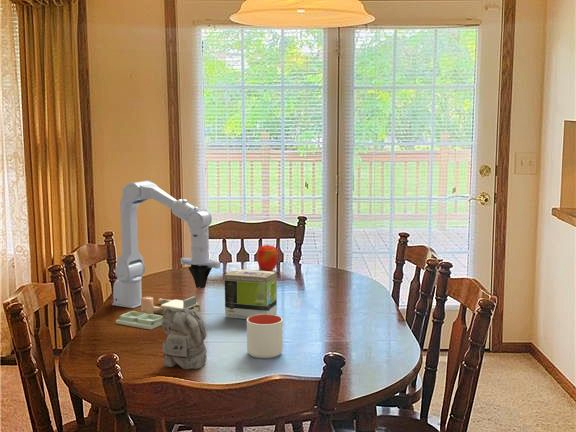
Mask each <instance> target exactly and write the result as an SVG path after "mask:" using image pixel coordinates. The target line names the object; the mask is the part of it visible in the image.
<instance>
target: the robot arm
mask: <svg viewBox="0 0 576 432" xmlns="http://www.w3.org/2000/svg"><path fill="white" fill-rule="evenodd" d="M147 200H154V201H156V202H158V203H160V204H161V205H163V206H166V207H167V208H169V209H170V210H171V213H172V214H173V215H174V216H176V218H177V217H178V218H179V219H181V220H182V221H184V222H185V223H187V226H188V227H189V229H190V230H189V231H190V243H191V246H190V247H191V249H190V250H191V252H190V253H191V257H181V258H180V265H182V266H183V265H188V266H189V267H188V271H189V273H190V274H191V276H192V278H193V281H194V284H195V288H197V289H199V288H200V289H204V288H206V284H207V281H208V277H209V275H210V273H211V271H212V268H214V269H216V270H217V269H220V268H221V261H216V260H213V259H210V254H209V253H210V252H209V251H210V244H209V243H210V241H209V235H210V234H209V226H210V225H211V224H212V218H213V217H212V215H211V213H210V212H209V211H207V209H200V208H199V207H198V206H194V205H193V204H190V203H189V202H188V200H187V199H186V198H184V199H183V198H179V199H178V200H177V199H176V198H175V197H173V196H172V195H170V194H169V193H167V192H166V191H165V190H163V189H161V188H160V187H159V186H158V185H157V184H156V183H154V182H152V181H151V180H147V179H146V180H141V181H137V182H129V183H127V184H126V185H124V186H123V188H122V196H121V198H120V203H119V208H120V213H119V214H120V231H121V233H120V234H121V235H120V236H121V254H120V255H119V256H118V258H117V259H116V266H115V270H114V273H115V277H116V278H117V279H115V281H114V283H113V287H112V290H113V291H112V293H113V294H112V296H113V303H112V306H117V307H124V308H129V309H135V308H137V307H141V298H142V297H143V296H142V295H143V294H142V279H143V275H144V274H145V272H146V264H145V263H144V256H143V255H142V254H141V253H140V251H139V242H138V241H139V240H138V239H139V238H138V233H139V232H138V212H137V211H138V210H137V209H138V207H139V206H140V205H142V203H143V202H145V201H147Z"/></svg>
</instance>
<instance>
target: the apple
mask: <svg viewBox="0 0 576 432" xmlns="http://www.w3.org/2000/svg"><path fill="white" fill-rule="evenodd" d="M278 260H279V252H278V248H276V247H275V246H273V245H269V244H265V245H261V246H260V247H258V249H257V251H256V261H257V265H258V267H259V269H261V271H274V269H275V268H276V266H277V264H278Z"/></svg>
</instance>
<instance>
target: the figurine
mask: <svg viewBox="0 0 576 432" xmlns="http://www.w3.org/2000/svg"><path fill="white" fill-rule="evenodd" d="M161 316H162V325H161V326H162V331H163V332H164V334H167V337H166V340H165V341H164V342H162V354H163V357H164V358H163V366H165V367H168V368H173V367H174V366H176V365H178V366H179V367H181V368H182V369H184V370H198V369H200V368H202V367H203V366H204V365H205V364H206V362H207V351H208V350H207V348H206V345H205V343H204V340H205V339H206V338H207V330H206V325H205V321H204V319H203V316H202V315H201V313H200V312H199V311H196V310H193V311H191V310H189V309H187V308H186V309H181V310H176V309H171V308H167V309H165V310H164V313H163V314H162V315H161Z"/></svg>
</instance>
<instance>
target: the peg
mask: <svg viewBox="0 0 576 432" xmlns="http://www.w3.org/2000/svg"><path fill="white" fill-rule="evenodd" d="M153 306H154V297H153V296H142V298H141V305H140V312H143V313H148V314H154V313H155V312H154V309H153Z"/></svg>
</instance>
